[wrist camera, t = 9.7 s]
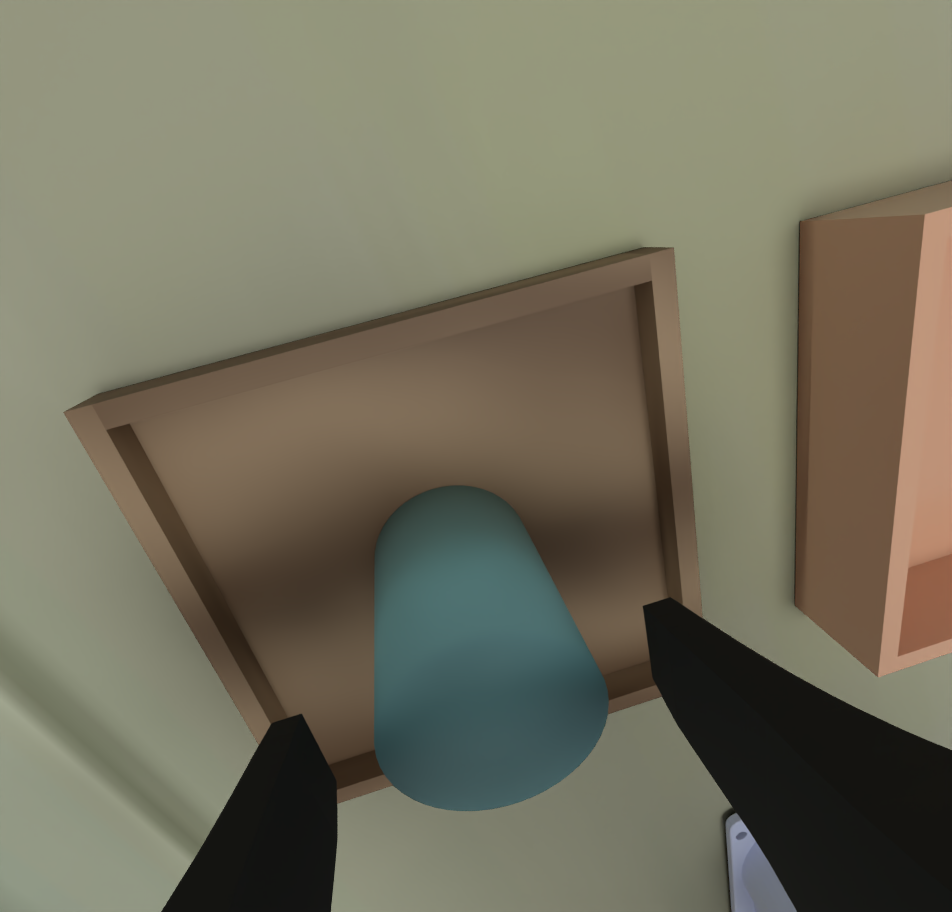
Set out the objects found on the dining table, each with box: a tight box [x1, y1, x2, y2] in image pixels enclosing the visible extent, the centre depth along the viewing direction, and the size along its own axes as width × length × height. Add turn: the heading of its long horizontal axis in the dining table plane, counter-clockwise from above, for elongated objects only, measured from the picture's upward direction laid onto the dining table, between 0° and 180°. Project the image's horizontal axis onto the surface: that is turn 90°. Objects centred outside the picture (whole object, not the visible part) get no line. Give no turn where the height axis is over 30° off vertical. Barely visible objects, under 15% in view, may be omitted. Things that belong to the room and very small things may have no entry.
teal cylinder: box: [374, 486, 609, 811], centre depth 13 cm, size 4×4×6 cm
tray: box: [64, 247, 702, 804], centre depth 15 cm, size 14×14×2 cm
